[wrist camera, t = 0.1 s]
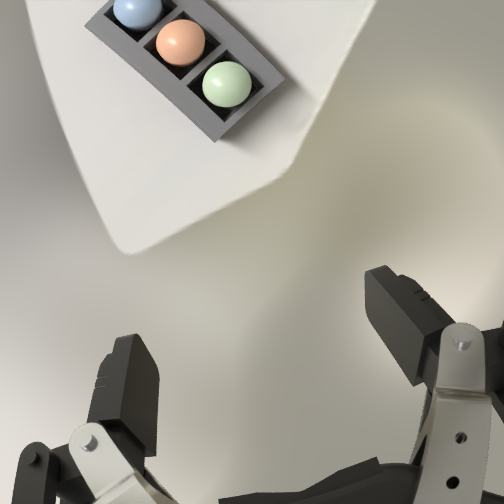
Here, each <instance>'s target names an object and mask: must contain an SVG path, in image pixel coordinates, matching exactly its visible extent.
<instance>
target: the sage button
mask: <svg viewBox="0 0 504 504" xmlns="http://www.w3.org/2000/svg"><path fill="white" fill-rule="evenodd" d="M202 87H203V93H204V95H205V97H206V98H207V100H208V101H209V102H211V103H212V104H214V105H216V106H220V107H232V106H236V105H238V104H240V103H241V102H243V101H244V100H245V99H246V98H247V96H248V95H249V93H250V90H251V78H250V75H249V73H248V72H247V70H246V69H245V68H244V67H243V66H241V65H239V64H237V63H234V62H221V63H218V64H215V65H214V66H212V67H211V68H210V69H209V70H208V71H207V72H206V74H205V76H204V79H203V86H202Z"/></svg>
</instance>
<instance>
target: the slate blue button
mask: <svg viewBox="0 0 504 504" xmlns="http://www.w3.org/2000/svg"><path fill="white" fill-rule="evenodd" d="M113 10H114V14H115V16H116V18H117V19H118V20H119V21H120V22H121V23H122V24H123V25H124V26H125V27H126V28H128V29H130V30H132V31H145V30H148V29H150V28H152V27H153V26H155V25H156V24H157V23H158V22H159V21H160V19H161V17H162V15H163V5H162V2H161V0H115V3H114V7H113Z"/></svg>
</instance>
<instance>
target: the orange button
mask: <svg viewBox="0 0 504 504" xmlns="http://www.w3.org/2000/svg"><path fill="white" fill-rule="evenodd" d="M156 46H157V50H158V52H159V54H160V55H161V56H162V58H163V59H164V60H165V61H166V62H167V63H169V64H170V65H173V66H176V67H185V66H189V65H191V64H193V63H195V62H196V61H198V59H199V58H200V57H201V56H202V54H203V52H204V46H205V35H204V32H203V30H202V29H201V27H200V26H199V25H198V24H196V23H194V22H192V21H189V20H176V21H173V22H170V23H169V24H167V25H166V26H164V27H163V28H162V29H161V31H160V32H159V34H158V36H157V40H156Z"/></svg>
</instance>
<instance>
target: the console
mask: <svg viewBox="0 0 504 504" xmlns="http://www.w3.org/2000/svg"><path fill="white" fill-rule="evenodd" d="M162 1H163V2H164V3H166V4H167V5H168V6H169V7H171V8H172V9H173V11H172V12H170V13H169V14H168V15H167V16H166V17H165V18H164V19H162V20H161V21H160V22H159V23H158V24H157V25H156V26H155V27H154V28H152V29H151V30H150V31H149V32H148V33H147V34H146V35H145V36H144V37H143V38H142V39H141V40H140V41H139V42H138V43H137V42H136V41H135V40H134V39H132V38H131V37H130V36H129V35H128V34H126V33H125V32H124V31H123V30H122V29H120V28H119V27H118V26H117V25H116V24H114V23H113V21H114V20H115V19H116V16H115V14H114V10H113V7H114V3H115V0H109V1H108V2H107V3H106V4H105V5H104V6H103V7H102V8H101V9H100V10H99V11H98V12H97V13H96V14H95V15H94V16H93V17H92V18H91V19H90V20H89V21H88V22H87V23H86V24H85V25H84V27H86V28H87V29H88V30H89V31H90V32H92V33H93V34H94V35H95V36H96V37H98V38H99V39H100V40H101V41H102V42H104V43H105V44H106V45H107V46H108V47H109V48H111V49H112V50H113V51H114V52H115V53H117V54H118V55H119V56H120V57H121V58H122V59H123V60H125V61H126V62H127V63H128V64H129V65H130V66H132V67H133V68H134V69H135V70H136V71H137V72H138V73H140V74H141V75H142V76H143V77H144V78H145V79H146V80H147V81H149V82H150V83H151V84H152V85H153V86H154V87H155V88H156V89H157V90H159V91H160V92H161V93H162V94H163V95H164V96H165V97H166V98H167V99H168V100H170V101H171V102H172V103H173V104H174V105H175V106H176V107H177V108H178V109H179V110H180V111H181V112H183V113H184V114H185V115H186V116H187V117H188V118H189V119H190V120H191V121H192V122H193V123H194V124H195V125H196V126H197V127H199V128H200V129H201V130H202V131H203V132H204V133H205V134H206V135H207V136H208V137H209V138H210V139H211V140H212V141H213V142H214V143H215V142H216V141H217V140H218V139H219V138H220V137H221V136H222V135H223V134H224V133H225V132H226V131H228V130H229V129H230V128H231V127H232V126H233V125H234V124H235V123H236V122H237V121H238V120H239V119H240V118H241V117H243V116H244V115H245V114H246V113H247V112H248V111H249V110H250V109H251V108H252V107H253V106H255V105H256V104H257V103H258V102H259V101H260V100H261V99H262V98H264V97H265V96H266V95H267V94H268V93H269V92H270V91H272V90H273V89H274V88H275V87H276V86H277V85H279V84H280V83H281V82H282V81H283V80H285V78H284V77H283V76H282V75H281V74H280V73H279V72H278V71H277V70H276V69H275V67H274V66H273V65H272V64H271V63H270V62H269V61H268V60H267V59H266V58H265V57H264V56H263V55H262V54H261V53H260V52H259V51H258V50H257V49H256V48H255V47H254V46H253V45H252V44H251V43H250V42H249V41H248V40H247V39H246V38H245V37H244V36H243V35H241V34H240V33H239V32H238V31H237V30H236V29H235V28H234V27H233V26H232V25H231V24H230V23H229V22H227V21H226V20H225V19H224V18H223V17H222V16H221V15H220V14H219V13H217V12H216V11H215V10H214V9H213V8H212V7H211V6H209V5H208V4H207V3H206V2H205V1H203V0H162ZM176 20H189V21H192V22H194V23H196V24H198V25H199V26H200V27H201V29H202V30H203V32H204V35H205V38H206V39H208V40H209V41H210V42H211V43H212V44H213V45H214V46H215V47H216V49H215V50H214V51H212V52H211V53H210V54H209V55H208V56H207V57H206V58H204V59H203V60H202V61H201V62H200V63H199V64H198V65H197V66H196V67H195V68H193V69H192V70H191V71H190V72H189V73H188V74H187V75H186V76H185V77H184V78H183V79H182V80H181V81H180V80H179V79H178V78H177V77H176V76H175V75H174V74H172V73H171V72H170V71H169V70H168V69H167V68H166V67H165V66H164V65H162V64H161V63H160V62H159V61H158V60H157V59H156V58H154V57H153V56H152V55H151V54H150V53H149V52H150V51H151V50H152V49H153V48H154V47H155V46H156V40H157V36H158V34H159V32H160V31H161V29H162V28H163V27H164V26H166V25H167V24H169V23H170V22H173V21H176ZM223 55H225V56H226V57H227V58H228V59H229V60H230V61H231V62H234V63H237V64H239V65H241V66H243V67H244V68H245V69H246V70H247V72H248V73H249V75H250V78H251V82H252V83H253V84H254V85H255V86H256V87H257V89H256V90H255V91H254V92H253V93H252V94H251V95H250V96H248V97H247V98H246V99H245V100H244V101H243V102H242V103H241V104H240V105H238V106H237V107H236V108H235V109H234V110H233V111H232V112H231V113H230V114H229V115H228V116H227V117H225V118H224V119H223V120H221V119H220V118H219V117H218V116H217V115H216V114H215V113H214V112H213V111H212V110H211V109H210V108H209V107H208V106H207V105H206V104H205V103H204V102H203V101H202V100H201V99H200V98H198V97H197V96H196V95H195V94H194V93H193V92H192V91H191V90H190V89H189V88H188V87H189V86H190V85H191V84H192V83H193V82H194V81H195V80H196V79H197V78H198V77H199V76H201V75H202V74H203V73H204V72H205V71H206V70H207V69H208V68H209V67H210V66H212V65H213V64H214V63H215V62H216V61H217V60H218V59H220V58H221V57H222V56H223Z"/></svg>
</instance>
